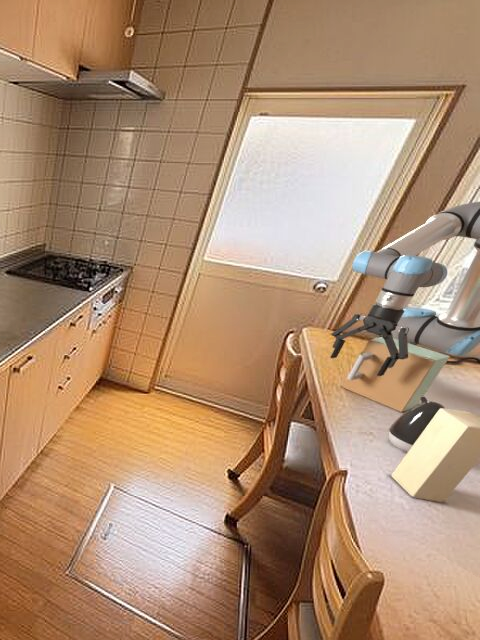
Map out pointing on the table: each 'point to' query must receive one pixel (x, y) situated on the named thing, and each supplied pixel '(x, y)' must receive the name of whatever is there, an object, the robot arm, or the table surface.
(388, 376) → the cooler door
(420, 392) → the box
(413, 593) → the table surface
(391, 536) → the table surface
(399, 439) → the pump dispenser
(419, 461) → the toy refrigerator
